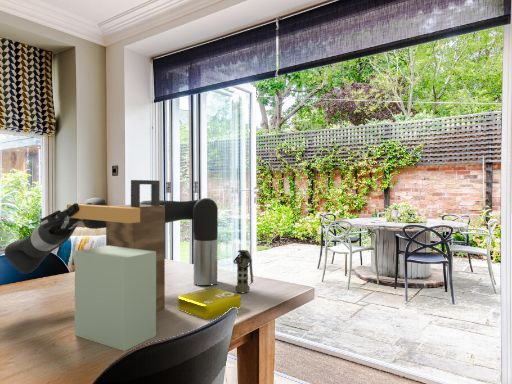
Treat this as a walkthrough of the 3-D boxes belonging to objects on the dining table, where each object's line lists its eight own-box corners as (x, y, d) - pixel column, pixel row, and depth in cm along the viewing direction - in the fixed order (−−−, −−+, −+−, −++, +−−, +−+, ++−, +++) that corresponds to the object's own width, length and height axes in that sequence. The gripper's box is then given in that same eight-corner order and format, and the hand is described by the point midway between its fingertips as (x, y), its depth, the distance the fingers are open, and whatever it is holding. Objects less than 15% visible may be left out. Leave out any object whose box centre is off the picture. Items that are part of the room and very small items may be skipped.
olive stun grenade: (230, 294, 130) (231, 251, 130) (240, 289, 137) (241, 248, 136) (246, 296, 127) (246, 253, 127) (256, 291, 134) (256, 250, 133)
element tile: (210, 299, 126) (210, 285, 126) (243, 308, 116) (243, 293, 116) (175, 310, 115) (175, 294, 115) (207, 321, 105) (208, 305, 105)
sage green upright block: (74, 335, 94) (74, 250, 93) (107, 322, 102) (107, 245, 102) (124, 351, 85) (124, 258, 85) (155, 335, 94) (156, 251, 93)
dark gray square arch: (130, 206, 107) (130, 180, 106) (154, 205, 115) (154, 180, 115) (135, 207, 106) (135, 180, 105) (159, 205, 114) (159, 180, 114)
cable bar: (66, 217, 100) (66, 204, 100) (78, 216, 103) (78, 203, 103) (128, 223, 88) (129, 208, 88) (140, 222, 91) (140, 207, 91)
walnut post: (106, 312, 110) (106, 205, 110) (137, 302, 121) (137, 204, 120) (134, 320, 104) (134, 207, 104) (164, 308, 115) (164, 205, 114)
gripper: (22, 223, 101) (55, 193, 94) (69, 220, 114) (102, 193, 106) (29, 248, 100) (64, 220, 92) (77, 242, 112) (111, 216, 104)
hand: (84, 206), depth 99 cm, fingers closed on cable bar, 3 cm apart
